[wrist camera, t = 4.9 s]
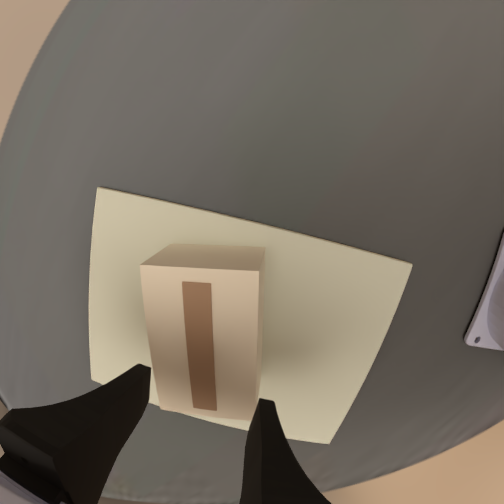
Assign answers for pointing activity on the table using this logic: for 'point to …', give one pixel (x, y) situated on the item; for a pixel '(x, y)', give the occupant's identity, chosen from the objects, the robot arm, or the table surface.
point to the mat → (274, 314)
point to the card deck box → (206, 327)
